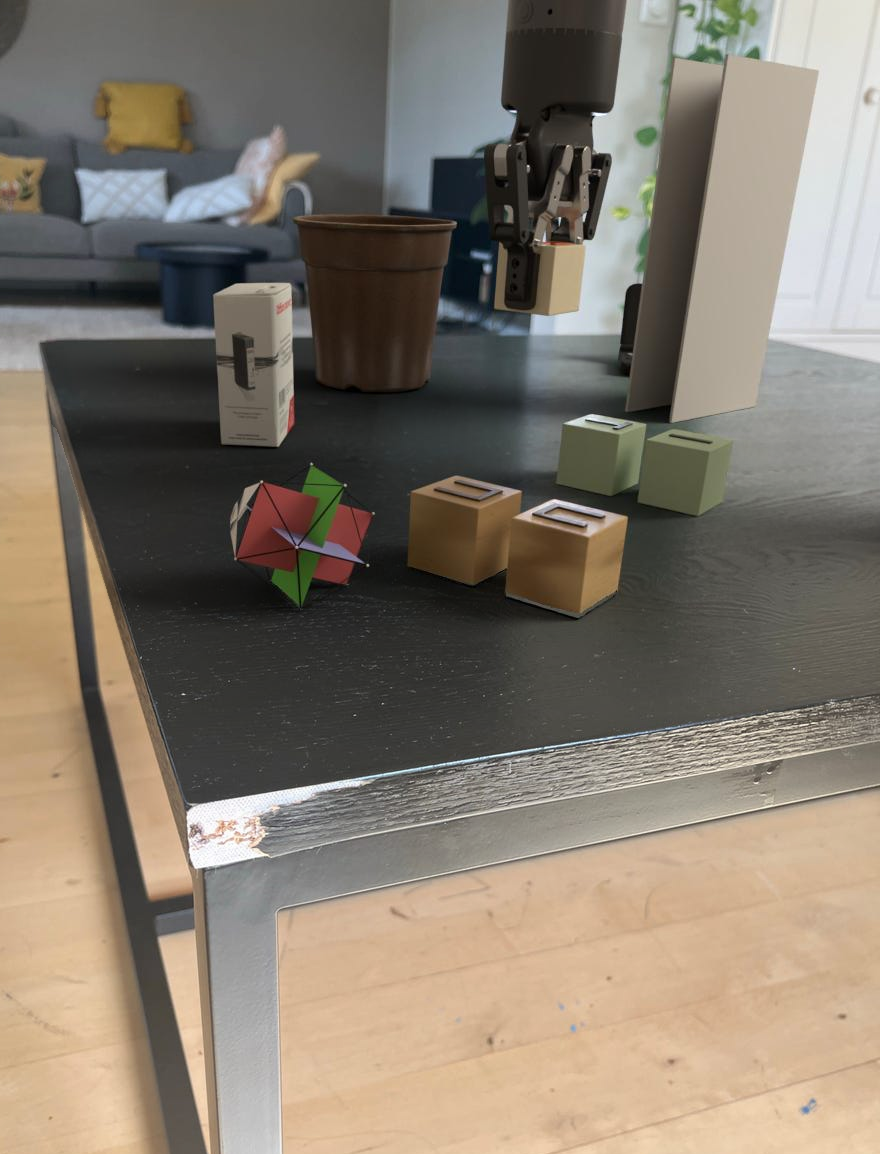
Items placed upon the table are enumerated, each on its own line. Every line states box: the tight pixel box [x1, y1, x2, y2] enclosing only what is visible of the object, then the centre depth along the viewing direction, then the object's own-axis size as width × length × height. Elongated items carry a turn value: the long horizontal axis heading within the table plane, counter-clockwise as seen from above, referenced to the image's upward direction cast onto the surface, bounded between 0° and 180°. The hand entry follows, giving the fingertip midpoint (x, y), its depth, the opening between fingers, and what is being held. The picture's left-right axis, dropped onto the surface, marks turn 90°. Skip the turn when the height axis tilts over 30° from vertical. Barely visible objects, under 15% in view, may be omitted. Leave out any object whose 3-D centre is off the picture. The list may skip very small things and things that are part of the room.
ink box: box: [212, 282, 295, 448], centre depth 80 cm, size 8×5×12 cm, turn 177°
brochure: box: [624, 53, 820, 424], centre depth 92 cm, size 14×6×30 cm, turn 130°
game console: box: [617, 282, 642, 375], centre depth 117 cm, size 16×14×9 cm
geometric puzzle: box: [229, 462, 376, 609], centre depth 51 cm, size 7×7×8 cm
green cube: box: [555, 413, 647, 497], centre depth 72 cm, size 4×4×5 cm
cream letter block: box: [493, 240, 587, 317], centre depth 70 cm, size 4×4×5 cm
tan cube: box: [407, 475, 523, 584], centre depth 56 cm, size 4×4×5 cm
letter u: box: [504, 498, 629, 613], centre depth 52 cm, size 4×4×5 cm
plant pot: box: [292, 214, 458, 394], centre depth 102 cm, size 16×16×16 cm
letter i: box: [637, 428, 734, 517], centre depth 69 cm, size 4×4×5 cm
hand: (537, 305), depth 71 cm, fingers closed on cream letter block, 4 cm apart
